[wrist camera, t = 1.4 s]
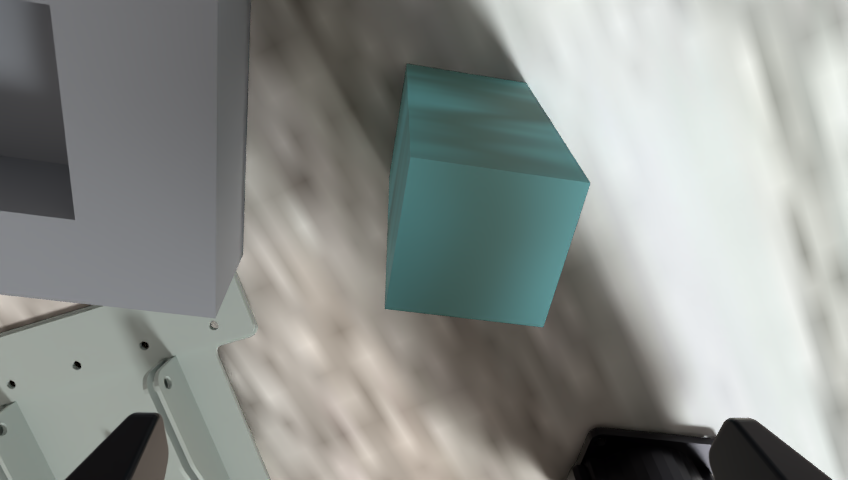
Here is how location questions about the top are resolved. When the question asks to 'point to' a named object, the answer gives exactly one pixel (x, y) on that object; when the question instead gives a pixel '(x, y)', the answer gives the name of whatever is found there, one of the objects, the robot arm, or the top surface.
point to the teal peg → (478, 200)
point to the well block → (123, 151)
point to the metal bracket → (125, 390)
